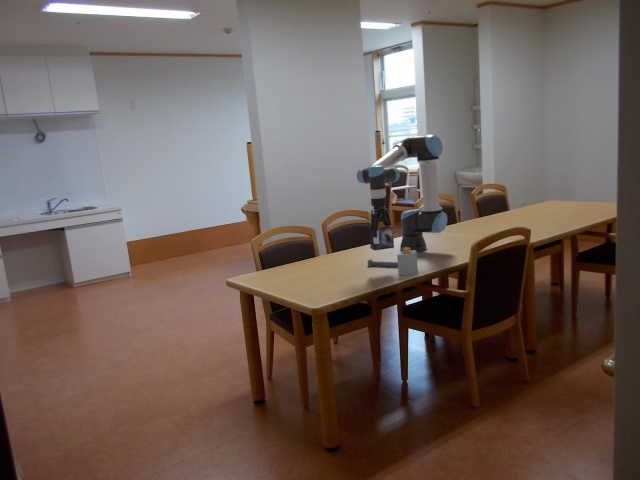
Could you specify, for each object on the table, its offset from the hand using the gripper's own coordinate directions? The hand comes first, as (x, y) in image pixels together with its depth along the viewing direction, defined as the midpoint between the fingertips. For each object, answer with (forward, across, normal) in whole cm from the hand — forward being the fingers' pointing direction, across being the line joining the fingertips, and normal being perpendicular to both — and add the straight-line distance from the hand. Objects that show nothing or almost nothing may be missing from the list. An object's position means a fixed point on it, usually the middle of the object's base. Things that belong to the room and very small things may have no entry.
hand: (381, 241), depth 271 cm
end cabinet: (+16, 0, +13) cm, 20 cm away
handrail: (+16, -10, -2) cm, 18 cm away
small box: (+4, 0, 0) cm, 4 cm away
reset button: (+8, 0, +13) cm, 15 cm away
